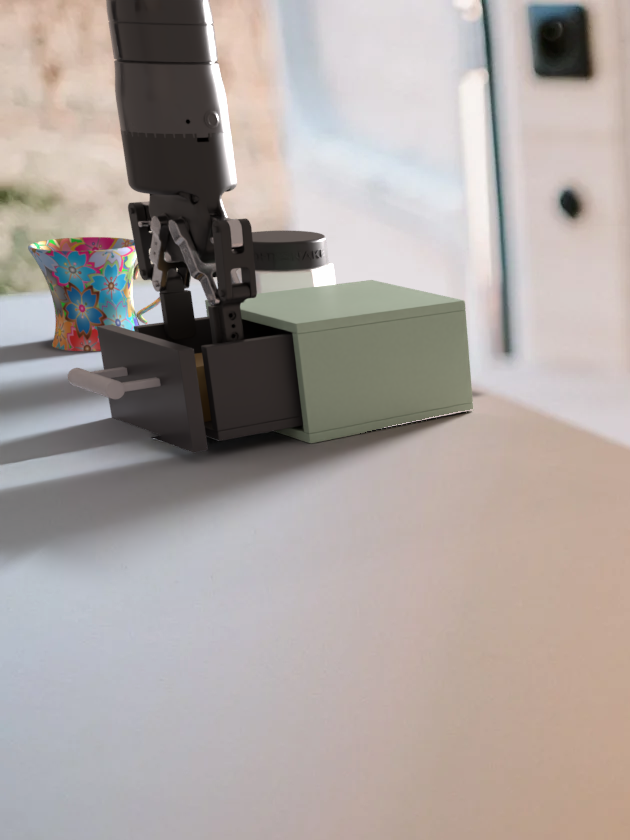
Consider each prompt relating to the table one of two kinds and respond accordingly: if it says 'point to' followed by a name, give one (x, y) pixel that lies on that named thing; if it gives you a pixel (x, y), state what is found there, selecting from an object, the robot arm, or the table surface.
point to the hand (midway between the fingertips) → (205, 345)
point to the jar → (290, 261)
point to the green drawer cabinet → (369, 355)
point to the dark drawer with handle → (178, 382)
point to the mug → (89, 287)
